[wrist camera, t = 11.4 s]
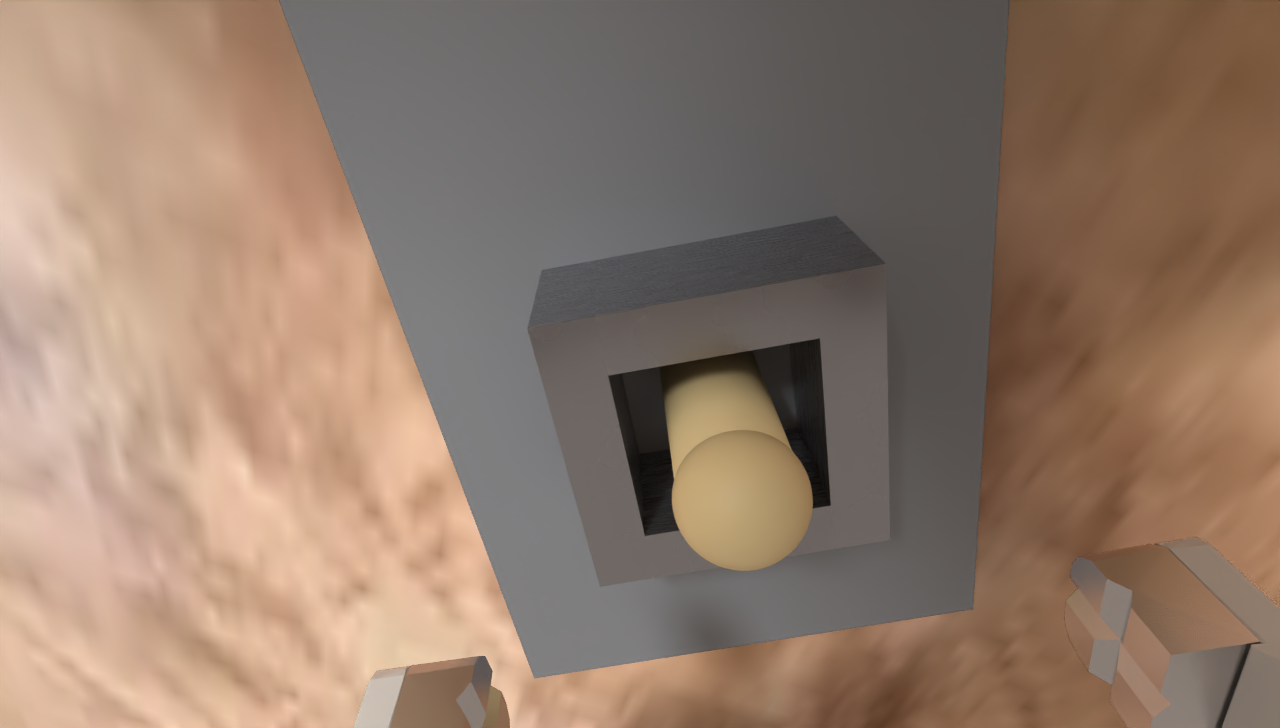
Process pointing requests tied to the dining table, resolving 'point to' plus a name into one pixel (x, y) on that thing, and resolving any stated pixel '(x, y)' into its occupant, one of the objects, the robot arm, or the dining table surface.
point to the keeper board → (667, 216)
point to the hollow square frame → (709, 327)
